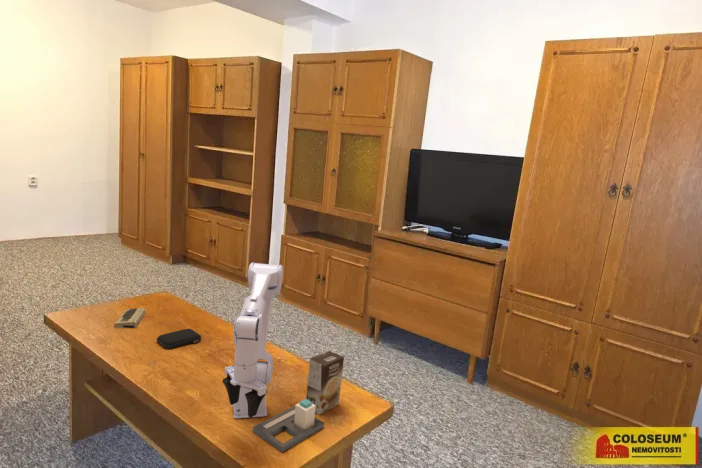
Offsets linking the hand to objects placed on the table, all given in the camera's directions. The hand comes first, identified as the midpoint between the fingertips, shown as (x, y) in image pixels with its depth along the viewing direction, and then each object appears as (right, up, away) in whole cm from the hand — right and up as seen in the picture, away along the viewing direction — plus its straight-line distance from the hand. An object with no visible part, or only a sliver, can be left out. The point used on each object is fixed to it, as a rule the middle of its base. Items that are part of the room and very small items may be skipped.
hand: (243, 409), depth 121 cm
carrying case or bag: (-37, +4, +57) cm, 68 cm away
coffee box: (+19, -8, +23) cm, 31 cm away
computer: (-63, +9, +71) cm, 96 cm away
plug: (+15, -9, +11) cm, 21 cm away
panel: (+11, -9, +10) cm, 17 cm away
